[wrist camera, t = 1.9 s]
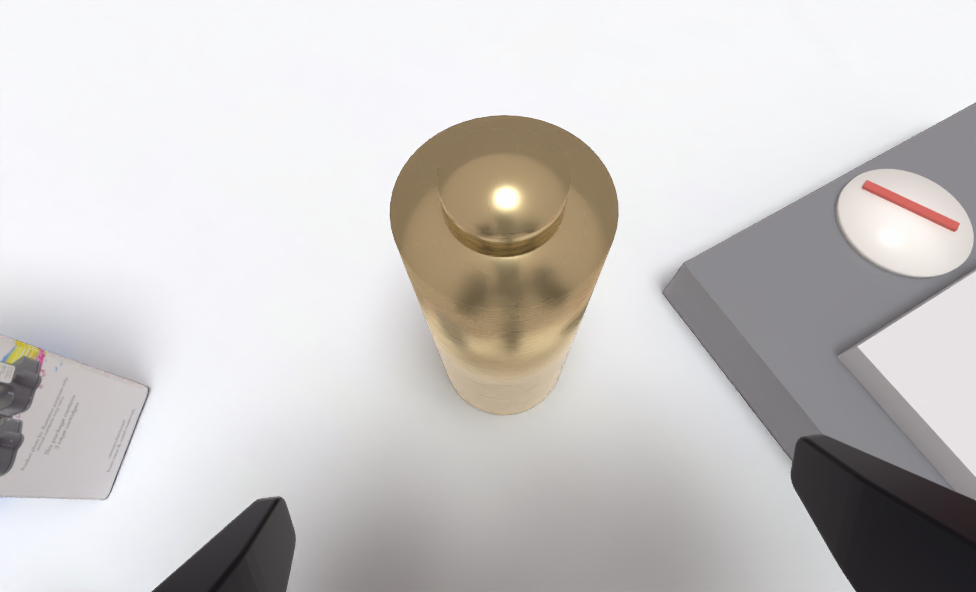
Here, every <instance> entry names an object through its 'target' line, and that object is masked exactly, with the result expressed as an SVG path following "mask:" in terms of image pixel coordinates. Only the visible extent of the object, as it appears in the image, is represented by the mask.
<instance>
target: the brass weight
mask: <svg viewBox="0 0 976 592" xmlns="http://www.w3.org/2000/svg"><path fill="white" fill-rule="evenodd" d="M390 221H391V229H392V233H393V236H394V240H395V243H396V245H397V248H398V250H399V253H400V255H401V258H402V260H403V263H404V265H405V268H406V270H407V273H408V276H409V278H410V281H411V283H412V286H413V288H414V291H415V293H416V296H417V298H418V301H419V303H420V306H421V308H422V311H423V314H424V316H425V319H426V321H427V324H428V326H429V329H430V331H431V334H432V336H433V339H434V341H435V344H436V346H437V349H438V352H439V354H440V357H441V359H442V362H443V364H444V367H445V369H446V372H447V374H448V377H449V379H450V381H451V384H452V385H453V387H454V389H455V390H456V392H457V393H458V394H459V395H460V396H461V397H462V398H463V399H464V400H465V401H466V402H467V403H469V404H470V405H471V406H473V407H475V408H477V409H479V410H481V411H484V412H487V413H491V414H496V415H512V414H517V413H521V412H524V411H527V410H529V409H531V408H533V407H534V406H536V405H537V404H539V403H540V402H541V401H543V400H544V399H545V398H546V397H547V396H548V395H549V393H550V392H551V391H552V389H553V388H554V386H555V384H556V382H557V380H558V378H559V375H560V373H561V370H562V368H563V365H564V363H565V360H566V358H567V355H568V353H569V350H570V348H571V345H572V342H573V340H574V337H575V335H576V332H577V330H578V327H579V325H580V322H581V320H582V317H583V315H584V312H585V310H586V307H587V305H588V302H589V300H590V297H591V295H592V292H593V290H594V287H595V285H596V282H597V280H598V277H599V275H600V272H601V270H602V267H603V265H604V262H605V260H606V257H607V255H608V252H609V250H610V247H611V245H612V242H613V239H614V236H615V233H616V229H617V223H618V200H617V194H616V189H615V187H614V184H613V181H612V178H611V176H610V174H609V172H608V170H607V168H606V167H605V165H604V164H603V162H602V161H601V160H600V158H599V157H598V156H597V155H596V154H595V153H594V151H593V150H592V149H591V148H590V147H589V146H587V145H586V144H585V143H584V142H583V141H581V140H580V139H579V138H577V137H576V136H574V135H573V134H571V133H570V132H568V131H566V130H564V129H562V128H560V127H558V126H556V125H553V124H550V123H548V122H545V121H541V120H537V119H533V118H528V117H521V116H507V115H502V116H488V117H482V118H476V119H472V120H469V121H465V122H462V123H459V124H457V125H454V126H451V127H449V128H448V129H446V130H444V131H442V132H440V133H438V134H437V135H435V136H434V137H432V138H431V139H429V140H428V141H427V142H425V143H424V144H423V145H422V146H421V147H420V148H418V149H417V151H416V152H415V153H414V154H413V155H412V156H411V157H410V158H409V160H408V161H407V162H406V164H405V165H404V167H403V168H402V170H401V172H400V174H399V176H398V178H397V180H396V183H395V186H394V189H393V192H392V197H391V202H390Z"/></svg>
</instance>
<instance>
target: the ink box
mask: <svg viewBox="0 0 976 592" xmlns="http://www.w3.org/2000/svg"><path fill="white" fill-rule="evenodd" d="M147 394H148V388H147V387H146V386H144V385H142V384H139V383H136V382H133V381H130V380H127V379H125V378H122V377H119V376H116V375H113V374H110V373H107V372H104V371H102V370H99V369H96V368H93V367H90V366H87V365H84V364H82V363H79V362H76V361H73V360H70V359H68V358H65V357H62V356H59V355H57V354H54V353H51V352H48V351H45V350H42V349H40V348H37V347H34V346H31V345H28V344H25V343H23V342H20V341H17V340H14V339H11V338H8V337H6V336H3V335H0V497H18V498H55V499H85V500H104V499H106V498H107V496H108V495H109V493H110V490H111V488H112V485H113V482H114V480H115V477H116V475H117V472H118V469H119V467H120V464H121V462H122V459H123V456H124V454H125V451H126V448H127V446H128V443H129V441H130V438H131V435H132V433H133V430H134V428H135V425H136V422H137V420H138V417H139V415H140V412H141V409H142V407H143V404H144V402H145V399H146V397H147Z"/></svg>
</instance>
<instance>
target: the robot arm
mask: <svg viewBox="0 0 976 592" xmlns="http://www.w3.org/2000/svg"><path fill="white" fill-rule="evenodd" d="M791 480H792V484H793V487H794V489H795V491H796V492H797V494H798V496H799V498H800V499H801V501H802V503H803V504H804V506H805V508H806V510H807V511H808V513H809V515H810V517H811V518H812V520H813V522H814V524H815V525H816V527H817V529H818V531H819V532H820V534H821V536H822V538H823V539H824V541H825V543H826V545H827V546H828V548H829V550H830V552H831V553H832V555H833V557H834V558H835V560H836V562H837V563H838V565H839V567H840V568H841V570H842V571H843V573H844V574H845V576H846V577H847V579H848V580H849V582H850V583H851V585H852V586H853V588H854V589H855V591H856V592H976V500H974V499H972V498H970V497H967V496H965V495H963V494H960V493H958V492H956V491H953V490H951V489H949V488H947V487H944V486H942V485H940V484H937V483H935V482H933V481H930V480H928V479H926V478H924V477H921V476H919V475H917V474H914V473H912V472H910V471H907V470H905V469H903V468H900V467H898V466H896V465H894V464H891V463H889V462H887V461H884V460H882V459H880V458H877V457H875V456H873V455H871V454H868V453H866V452H864V451H861V450H859V449H857V448H854V447H852V446H850V445H848V444H845V443H843V442H841V441H838V440H836V439H834V438H831V437H829V436H827V435H823V434H817V435H808V436H802V437H799V438H798V439H797V441H796V443H795V449H794V455H793V461H792V468H791ZM295 541H296V537H295V530H294V527H293V524H292V521H291V517H290V514H289V511H288V508H287V505H286V502H285V500H284V499H283V498H282V497H279V496H277V497H269V498H261V499H258V500H256V501H255V502H253V503H252V504H251V505H250V506H249V507H248V508H246V509H245V510H244V511H243V512H242V513H241V514H240V515H238V516H237V517H236V518H235V519H234V520H233V521H232V522H230V523H229V524H228V525H227V526H226V527H225V528H224V529H223V530H221V531H220V532H219V533H218V534H217V535H216V536H215V537H213V538H212V539H211V540H210V541H209V542H208V543H207V544H205V545H204V546H203V547H202V548H201V549H200V550H199V551H197V552H196V553H195V554H194V555H193V556H192V557H191V558H189V559H188V560H187V561H186V562H185V563H184V564H183V565H181V566H180V567H179V568H178V569H177V570H176V571H175V572H173V573H172V574H171V575H170V576H169V577H168V578H167V579H166V580H164V581H163V582H162V583H161V584H160V585H159V586H158V587H156V588H155V589H154V590H153V591H152V592H286V589H287V584H288V579H289V574H290V569H291V564H292V559H293V554H294V549H295Z"/></svg>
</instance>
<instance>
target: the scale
mask: <svg viewBox="0 0 976 592" xmlns="http://www.w3.org/2000/svg"><path fill="white" fill-rule="evenodd" d="M663 294H664V295H665V297H666V298H667V299H668V301H669V302H670V303H671V304H672V306H673V307H674V308H675V310H676V311H677V312H678V314H679V315H680V316H681V317H682V319H683V320H684V321H685V323H686V324H687V325H688V326H689V328H690V329H691V330H692V332H693V333H694V334H695V336H696V337H697V338H698V339H699V341H700V342H701V343H702V345H703V346H704V347H705V348H706V350H707V351H708V352H709V354H710V355H711V356H712V358H713V359H714V360H715V361H716V363H717V364H718V365H719V367H720V368H721V369H722V370H723V372H724V373H725V374H726V376H727V377H728V378H729V380H730V381H731V382H732V383H733V385H734V386H735V387H736V389H737V390H738V391H739V392H740V394H741V395H742V396H743V398H744V399H745V400H746V402H747V403H748V404H749V405H750V407H751V408H752V409H753V411H754V412H755V413H756V414H757V416H758V417H759V418H760V420H761V421H762V422H763V424H764V425H765V426H766V427H767V429H768V430H769V431H770V433H771V434H772V435H773V436H774V438H775V439H776V440H777V442H778V443H779V444H780V445H781V447H782V448H783V449H784V451H785V452H786V453H787V455H788V456H789V457H790V458H791V460H792V461H793V455H794V449H795V443H796V441H797V439H798V438H799V437H802V436H808V435H817V434H823V435H827V436H829V437H831V438H834V439H836V440H838V441H841V442H843V443H845V444H848V445H850V446H852V447H854V448H857V449H859V450H861V451H864V452H866V453H868V454H871V455H873V456H875V457H877V458H880V459H882V460H884V461H887V462H889V463H891V464H894V465H896V466H898V467H900V468H903V469H905V470H907V471H910V472H912V473H914V474H917V475H919V476H921V477H924V478H926V479H928V480H930V481H933V482H935V483H937V484H940V485H942V486H944V487H947V488H949V489H951V490H953V491H956V492H958V493H960V494H963V495H965V496H967V497H970V498H972V499H974V500H976V103H974V104H972V105H970V106H968V107H967V108H965V109H963V110H961V111H959V112H957V113H956V114H954V115H952V116H950V117H948V118H947V119H945V120H943V121H941V122H939V123H937V124H936V125H934V126H932V127H930V128H928V129H927V130H925V131H923V132H921V133H919V134H917V135H916V136H914V137H912V138H910V139H908V140H907V141H905V142H903V143H901V144H899V145H897V146H896V147H894V148H892V149H890V150H888V151H887V152H885V153H883V154H881V155H879V156H877V157H876V158H874V159H872V160H870V161H868V162H867V163H865V164H863V165H861V166H859V167H857V168H856V169H854V170H852V171H850V172H848V173H847V174H845V175H843V176H841V177H839V178H838V179H836V180H834V181H832V182H830V183H828V184H827V185H825V186H823V187H821V188H819V189H818V190H816V191H814V192H812V193H810V194H808V195H807V196H805V197H803V198H801V199H799V200H798V201H796V202H794V203H792V204H790V205H788V206H787V207H785V208H783V209H781V210H779V211H778V212H776V213H774V214H772V215H770V216H768V217H767V218H765V219H763V220H761V221H759V222H758V223H756V224H754V225H752V226H750V227H748V228H747V229H745V230H743V231H741V232H739V233H738V234H736V235H734V236H732V237H730V238H728V239H727V240H725V241H723V242H721V243H719V244H718V245H716V246H714V247H712V248H710V249H708V250H707V251H705V252H703V253H701V254H699V255H698V256H696V257H694V258H692V259H690V260H688V261H687V262H685V263H683V265H682V266H681V268H680V269H679V270H678V272H677V273H676V275H675V276H674V277H673V279H672V280H671V282H670V283H669V284H668V286H667V287H666V289H665V290H664V291H663Z"/></svg>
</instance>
